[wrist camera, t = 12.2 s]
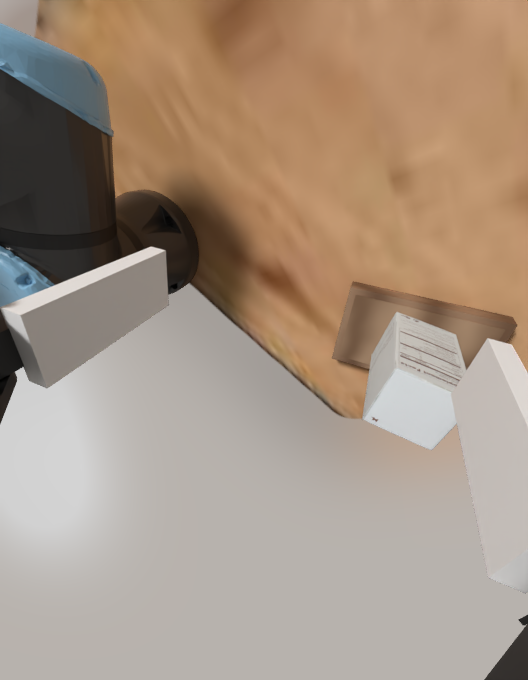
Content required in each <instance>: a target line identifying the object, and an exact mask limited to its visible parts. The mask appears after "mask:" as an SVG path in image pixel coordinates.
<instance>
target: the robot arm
mask: <svg viewBox="0 0 528 680" xmlns="http://www.w3.org/2000/svg"><path fill="white" fill-rule="evenodd" d="M112 137H113V130H112V129H111V124H110V115H109V106H108V98H107V90H106V86H105V84H104V81H103V79H102V78H101V76H100V75H99V73H98V72H97V71H96V70H95V68H94V67H92V66H91V65H90V64H89V63H87V62H86V61H84V60H82V59H80V58H79V57H76V56H74V55H72V54H70V53H68V52H66V51H64V50H62V49H59V48H57V47H55V46H53V45H50V44H48V43H46V42H44V41H41V40H39V39H37V38H34V37H32V36H30V35H27V34H25V33H23V32H20V31H18V30H16V29H13V28H11V27H9V26H6V25H4V24H1V23H0V423H1V421H2V418H3V416H4V413H5V410H6V408H7V405H8V403H9V400H10V397H11V395H12V393H13V390H14V387H15V385H16V382H17V376H16V374H15V371H17V370H18V369H20V368H22V367H24V369H25V372H26V374H27V377H28V379H29V381H31V382H33V383H36V384H38V385H40V386H43V387H45V388H48V387H50V386H51V385H53V384H54V383H56V382H57V381H59V380H60V379H62V378H63V377H65V376H66V375H68V374H69V373H70V372H71V371H73V370H75V369H76V368H77V367H79V366H81V365H82V364H84V363H85V362H86V361H88V360H89V359H91V358H92V357H94V356H95V355H97V354H98V353H99V352H101V351H102V350H104V349H105V348H107V347H108V346H110V345H111V344H112V343H114V342H116V341H117V340H119V339H120V338H121V337H123V336H124V335H126V334H127V333H128V332H130V331H131V330H133V329H135V328H136V327H137V326H139V325H140V324H142V323H143V322H145V321H146V320H148V319H149V318H151V317H152V316H153V315H155V314H156V313H158V312H159V311H161V310H162V309H164V308H165V307H166V306H168V305H169V304H168V294H171V293H174V292H176V291H178V290H179V289H181V288H183V287H184V286H186V285H187V284H188V283H189V282H190V281H191V280H192V278H193V277H194V275H195V272H196V270H197V266H198V256H199V254H198V245H197V240H196V237H195V234H194V231H193V229H192V226H191V224H190V222H189V221H188V219H187V218H186V216H185V215H184V213H183V212H182V211H181V210H180V208H179V207H178V206H177V205H176V204H175V203H174V202H172V201H171V200H170V199H168V198H167V197H165V196H164V195H162V194H160V193H157V192H155V191H151V190H137V191H131V192H127V193H124V194H122V195H120V196H118V197H117V198H115V187H114V171H113V154H112ZM451 398H452V403H453V408H454V412H455V417H456V422H457V427H458V432H459V437H460V442H461V447H462V452H463V456H464V461H465V466H466V471H467V476H468V481H469V486H470V491H471V495H472V501H473V505H474V511H475V515H476V521H477V525H478V530H479V535H480V540H481V545H482V550H483V555H484V560H485V564H486V570H487V575H488V578H490V579H492V580H495V581H497V582H500V583H502V584H504V585H506V586H509V587H511V588H514V589H516V590H518V591H520V592H523V593H527V592H528V373H527V371H526V369H525V367H524V366H523V364H522V362H521V360H520V359H519V357H518V355H517V353H516V351H515V350H514V348H513V346H512V345H511V344H507V343H504V342H500V341H496V340H493V339H489V338H487V340H486V341H485V343H484V344H483V346H482V347H481V349H480V350H479V352H478V354H477V355H476V357H475V358H474V360H473V361H472V363H471V364H470V366H469V367H468V369H467V370H466V372H465V374H464V375H463V377H462V378H461V380H460V381H459V383H458V384H457V386H456V387H455V389H454V390H453V392H452V394H451ZM519 621H520V622H521V623H522V625H526V624H527V625H526V627H525V628H524V629H523V631H522V632H521V633H520V634H519V636H518V637H517V638H516V640H515V641H514V642H513V643H512V645H511V646H510V647H509V649H508V650H507V651H506V652H505V654H504V655H503V656H502V658H501V659H500V660H499V662H498V663H497V664H496V665H495V667H494V668H493V669H492V671H491V672H490V673H489V674H488V676H487V677H486V678H485V680H528V615H526V616H525V617H523V618H521V619H519Z"/></svg>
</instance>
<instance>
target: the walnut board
mask: <svg viewBox="0 0 528 680" xmlns="http://www.w3.org/2000/svg"><path fill="white" fill-rule="evenodd" d="M396 312H399V313H402V314H404V315H407V316H410V317H412V318H415V319H417V320H420V321H423V322H425V323H428V324H430V325H433V326H435V327H438V328H441V329H443V330H446V331H448V332H451V333H453V334H456V336H457V339H458V343H459V346H460V350H461V353H462V357H463V360H464V363H465V367H466V370H467V369H468V367H469V366H470V364H471V363H472V361H473V360H474V358H475V357H476V355H477V354H478V352H479V350H480V349H481V347H482V346H483V344H484V343H485V341H486V340H487V338H489V339H493V340H496V341H500V342H504V343H506V342H507V341H508V339H509V338H510V336H511V334H512V333H513V331H514V330H515V328H516V327H517V324H516V322H515V321H514V319H513V317H509V316H505V315H500V314H496V313H491V312H487V311H482V310H478V309H474V308H469V307H465V306H460V305H456V304H451V303H447V302H442V301H438V300H433V299H429V298H424V297H420V296H415V295H411V294H407V293H402V292H398V291H393V290H389V289H384V288H380V287H375V286H371V285H366V284H362V283H357V282H353V283H352V285H351V288H350V292H349V296H348V300H347V303H346V307H345V311H344V315H343V318H342V322H341V326H340V330H339V333H338V337H337V341H336V345H335V348H334V352H333V356H332V359H336V360H339V361H343V362H346V363H349V364H353V365H356V366H360V367H363V368H367V369H370V363H371V355H372V353H373V352H374V350H375V348H376V346H377V345H378V343H379V341H380V339H381V337H382V336H383V334H384V332H385V330H386V329H387V327H388V325H389V323H390V322H391V320H392V318H393V317H394V315H395V313H396Z"/></svg>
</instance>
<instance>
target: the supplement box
mask: <svg viewBox="0 0 528 680" xmlns="http://www.w3.org/2000/svg"><path fill="white" fill-rule="evenodd" d="M465 372H466V367H465V363H464V360H463V357H462V353H461V350H460V346H459V343H458V339H457V336H456V334H453V333H451V332H448V331H446V330H443V329H441V328H438V327H435V326H433V325H430V324H428V323H425V322H423V321H420V320H417V319H415V318H412V317H410V316H407V315H404V314H402V313H399V312H396V313H395V315H394V317H393V318H392V320H391V322H390V323H389V325H388V327H387V329H386V330H385V332H384V334H383V336H382V337H381V339H380V341H379V343H378V345H377V346H376V348H375V350H374V352H373V353H372V355H371V363H370V370H369V376H368V383H367V390H366V397H365V404H364V410H363V418H362V419H363V420H365V421H367V422H369V423H371V424H373V425H375V426H377V427H380V428H382V429H384V430H386V431H389V432H391V433H393V434H396V435H398V436H400V437H402V438H404V439H406V440H409V441H411V442H413V443H415V444H418V445H420V446H422V447H425V448H427V449H430V450H433V449H434V448H435V446H436V445H437V444H438V443H439V442H440V441H441V440H442V439H443V438H444V437H445V436H446V435H447V434H448V433H449V431H450V430H451V429H452V428H453V427H454V426H455V425H456V424H457V422H456V417H455V412H454V408H453V403H452V398H451V394H452V392H453V390H454V389H455V387H456V386H457V384H458V383H459V381H460V380H461V378H462V377H463V375H464V374H465Z"/></svg>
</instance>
